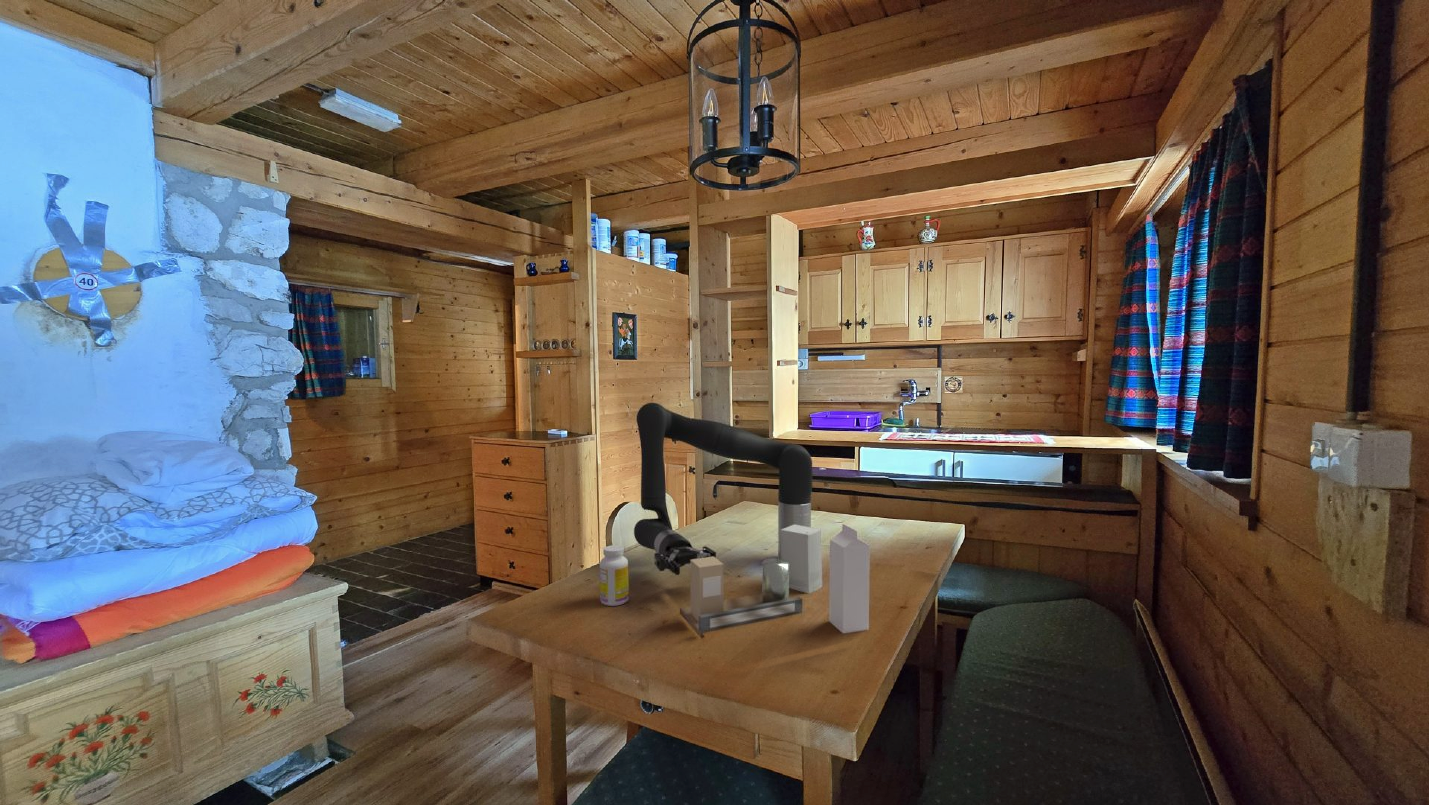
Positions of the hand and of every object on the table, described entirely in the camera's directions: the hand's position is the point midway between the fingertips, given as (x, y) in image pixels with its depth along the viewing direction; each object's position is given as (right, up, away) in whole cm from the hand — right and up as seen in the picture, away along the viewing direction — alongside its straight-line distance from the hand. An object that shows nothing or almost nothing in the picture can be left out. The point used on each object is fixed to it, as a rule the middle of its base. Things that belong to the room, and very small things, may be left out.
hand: (696, 567), depth 130 cm
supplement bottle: (-20, -10, +5) cm, 22 cm away
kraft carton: (+3, -9, -6) cm, 11 cm away
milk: (+32, -10, -11) cm, 36 cm away
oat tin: (+18, -8, -1) cm, 20 cm away
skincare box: (+26, -9, +11) cm, 30 cm away
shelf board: (+10, -10, -3) cm, 14 cm away
